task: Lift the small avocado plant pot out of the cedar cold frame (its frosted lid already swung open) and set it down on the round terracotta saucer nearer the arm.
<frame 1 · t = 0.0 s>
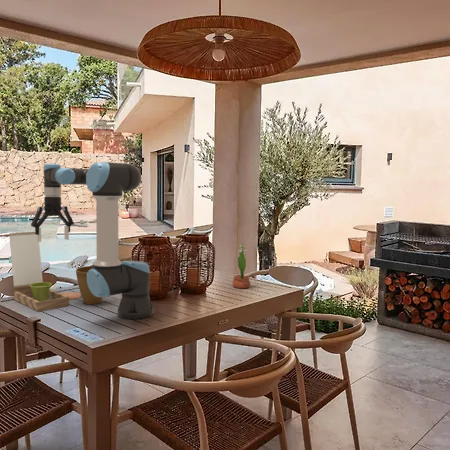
hand: (53, 240, 217), 28 cm above the table, tool pointing down, fingers open, 13 cm apart
potted flower: (240, 287, 252), on the table
plant pot: (92, 302, 213), on the table
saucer: (67, 296, 222), on the table
plant pot 2: (41, 303, 210), resting in cold frame
frame lid: (26, 258, 219), point 19 cm above the table, hinge at 100.0°
cold frame: (41, 302, 210), on the table
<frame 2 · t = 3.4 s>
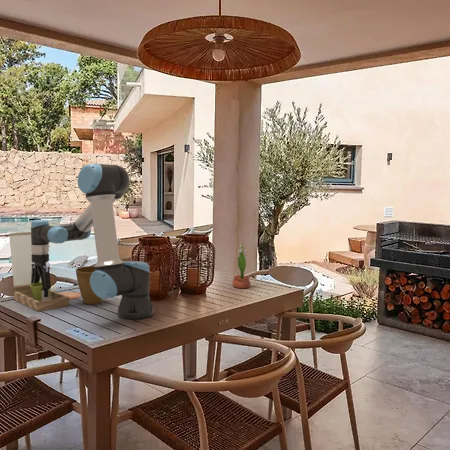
hand: (40, 301, 210), 1 cm above the table, tool pointing down, fingers closed on plant pot 2, 8 cm apart
plant pot 2: (41, 303, 210), resting in cold frame, touching gripper
everything else where it was.
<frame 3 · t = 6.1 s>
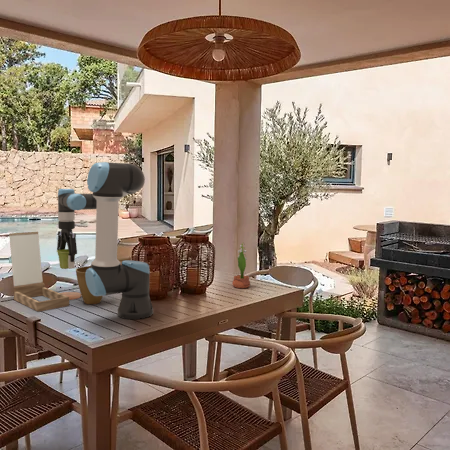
hand: (67, 266, 220), 15 cm above the table, tool pointing down, fingers closed on plant pot 2, 8 cm apart
plant pot 2: (67, 268, 220), point 14 cm above the table, touching gripper
everything else where it was.
when the fingers open (2 cm above the table, at t = 9.1 s): plant pot 2 drops 1 cm, resting on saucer.
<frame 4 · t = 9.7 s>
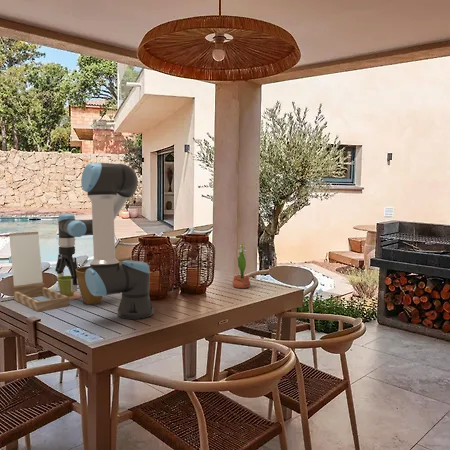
hand: (67, 289, 221), 4 cm above the table, tool pointing down, fingers open, 13 cm apart
plant pot 2: (67, 295, 222), point 1 cm above the table, touching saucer
everything else where it was.
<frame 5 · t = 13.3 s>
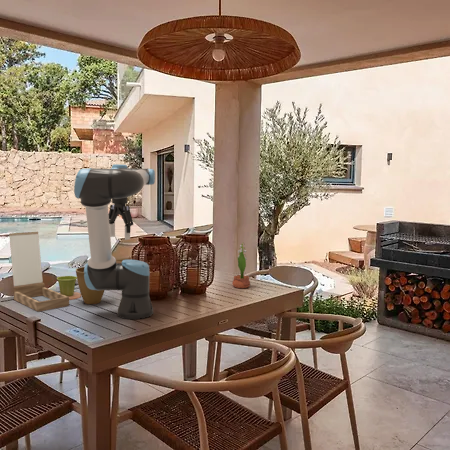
hand: (119, 238, 226), 29 cm above the table, tool pointing down, fingers open, 13 cm apart
nothing on the table moved.
at the end: plant pot 2 inside the target area on the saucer (0.1 cm from its centre), point 0.6 cm above the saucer's base; plant pot 2 tilted 0°; the gripper is holding nothing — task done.
